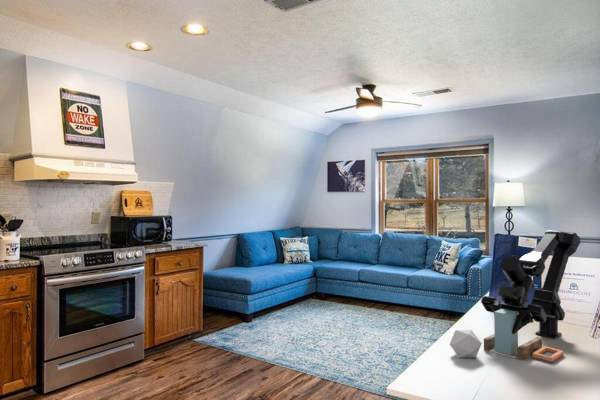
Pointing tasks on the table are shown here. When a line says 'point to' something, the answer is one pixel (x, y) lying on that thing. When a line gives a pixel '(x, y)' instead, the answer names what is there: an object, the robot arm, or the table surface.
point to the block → (505, 331)
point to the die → (465, 343)
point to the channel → (522, 350)
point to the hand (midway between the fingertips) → (504, 331)
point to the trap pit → (548, 354)
